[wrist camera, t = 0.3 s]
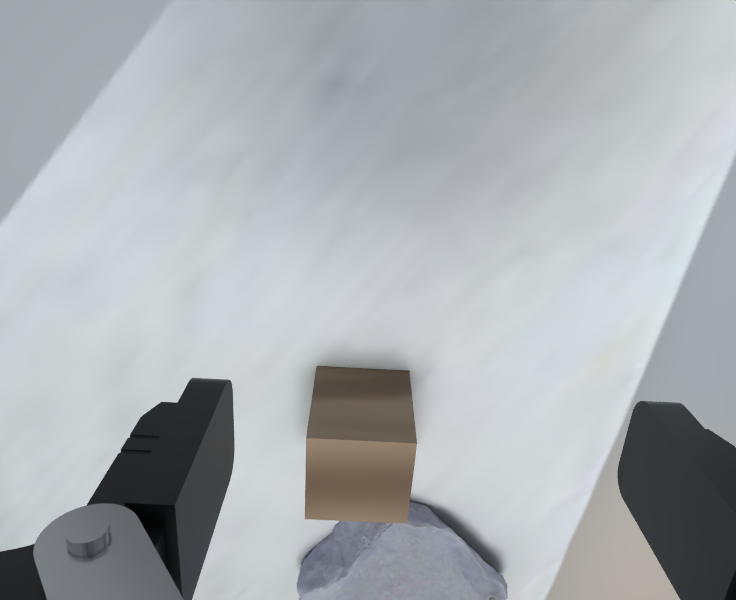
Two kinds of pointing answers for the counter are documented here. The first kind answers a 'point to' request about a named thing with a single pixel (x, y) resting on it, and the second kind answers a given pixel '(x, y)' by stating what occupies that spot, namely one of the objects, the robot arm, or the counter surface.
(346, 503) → the walnut block
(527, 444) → the counter surface
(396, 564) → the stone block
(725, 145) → the counter surface
